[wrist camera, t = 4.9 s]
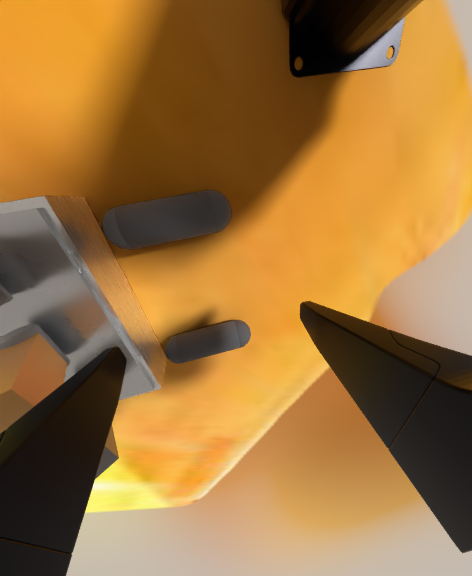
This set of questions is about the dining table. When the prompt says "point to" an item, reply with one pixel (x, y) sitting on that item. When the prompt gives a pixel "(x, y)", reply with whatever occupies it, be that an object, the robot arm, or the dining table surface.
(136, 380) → the strip
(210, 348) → the cable
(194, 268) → the dining table surface
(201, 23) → the dining table surface
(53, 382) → the orange rectangular block
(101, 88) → the dining table surface
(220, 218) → the cable
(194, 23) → the dining table surface
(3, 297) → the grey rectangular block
